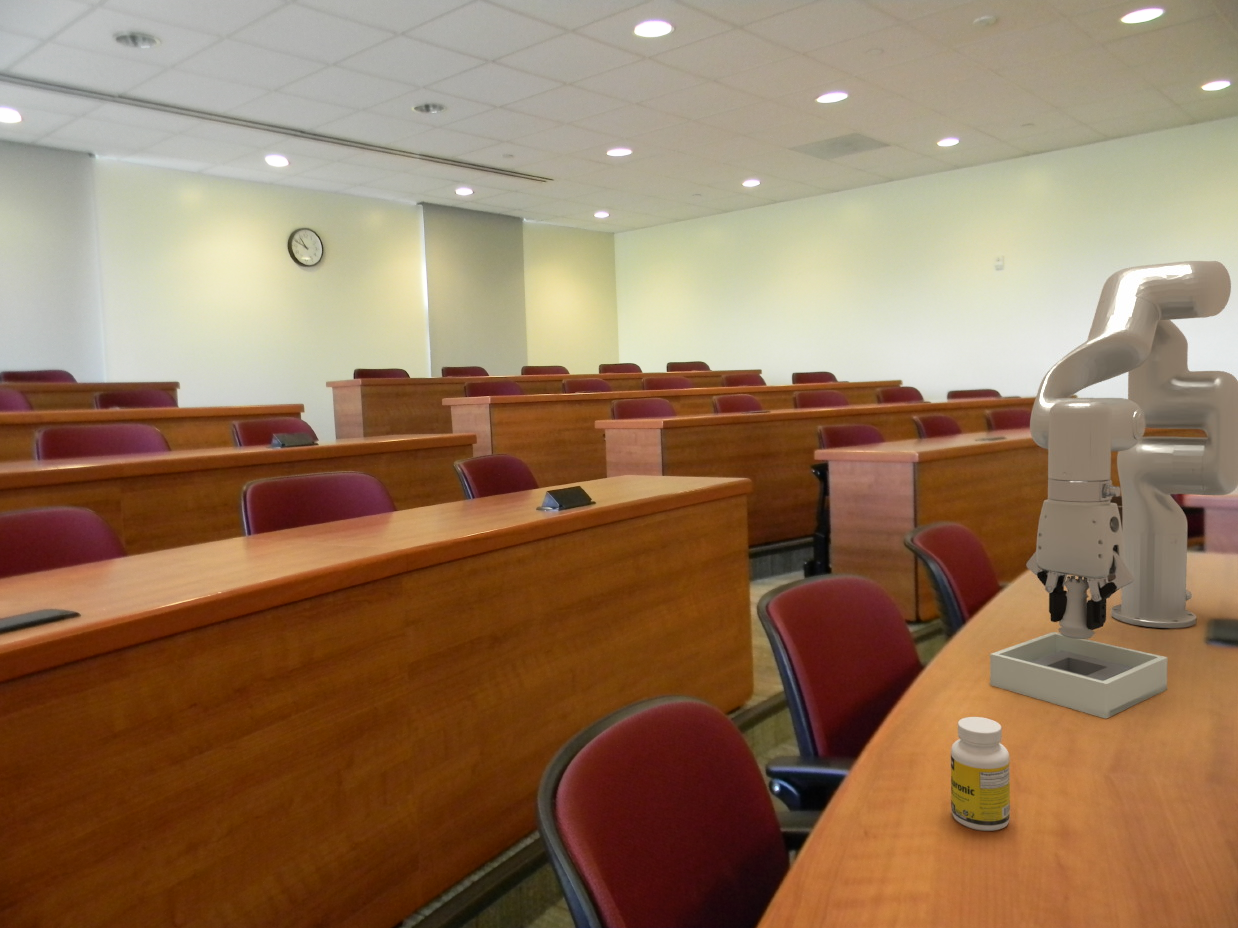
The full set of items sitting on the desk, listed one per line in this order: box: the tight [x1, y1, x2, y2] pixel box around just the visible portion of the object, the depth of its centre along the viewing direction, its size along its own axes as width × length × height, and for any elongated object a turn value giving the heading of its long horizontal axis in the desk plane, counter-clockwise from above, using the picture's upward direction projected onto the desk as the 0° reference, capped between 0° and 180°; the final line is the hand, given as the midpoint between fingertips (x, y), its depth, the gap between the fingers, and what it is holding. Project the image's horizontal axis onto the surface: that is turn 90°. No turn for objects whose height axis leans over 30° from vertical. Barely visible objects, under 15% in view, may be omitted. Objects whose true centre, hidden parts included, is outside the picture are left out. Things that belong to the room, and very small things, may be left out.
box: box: [989, 631, 1168, 719], centre depth 121 cm, size 16×16×4 cm
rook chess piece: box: [1058, 575, 1096, 640], centre depth 120 cm, size 4×4×8 cm
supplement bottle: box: [950, 716, 1011, 832], centre depth 87 cm, size 5×5×10 cm
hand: (1076, 622), depth 120 cm, fingers closed on rook chess piece, 4 cm apart
